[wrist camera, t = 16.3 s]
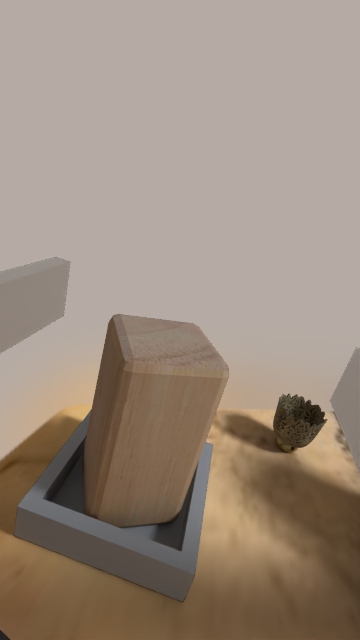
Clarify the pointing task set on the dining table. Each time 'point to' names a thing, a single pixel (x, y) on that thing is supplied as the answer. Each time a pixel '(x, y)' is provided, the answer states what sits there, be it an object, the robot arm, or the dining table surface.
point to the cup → (296, 422)
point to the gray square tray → (107, 540)
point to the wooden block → (149, 419)
